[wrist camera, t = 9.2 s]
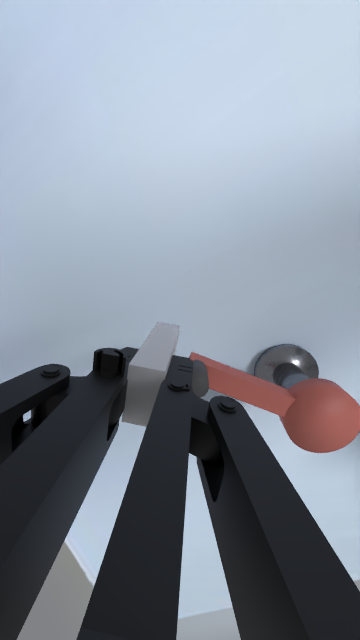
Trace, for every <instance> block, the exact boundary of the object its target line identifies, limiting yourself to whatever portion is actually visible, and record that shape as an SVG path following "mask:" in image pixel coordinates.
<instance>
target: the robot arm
mask: <svg viewBox="0 0 360 640" xmlns="http://www.w3.org/2000/svg"><path fill="white" fill-rule="evenodd" d="M179 328H180V326H176V325H171V324H166V323H160V322H157V324H156V325H155V327H154V328H153V330H152V331H151V333H150V334H149V336H148V337H147V339H146V340H145V341H144V343H143V344H142V346H141V347H140V349H135V348H130V347H126V348H124V349H121V350H119V349H115V348H102V349H98V350H96V351H94V361H93V370H92V371H91V372H90V373H89V374H88V375H87V376H83V377H76V376H70V369H69V368H68V367H66V366H63V365H59V364H50V365H44V366H41V367H38V368H35V369H33V370H31V371H29V372H26V373H24V374H22V375H20V376H17V377H15V378H13V379H11V380H8V381H6V382H4V383H2V384H0V640H16V639H17V637H18V635H19V633H20V631H21V629H22V627H23V625H24V623H25V620H26V619H27V616H28V614H29V612H30V610H31V608H32V606H33V604H34V602H35V600H36V598H37V596H38V594H39V592H40V590H41V588H42V586H43V584H44V581H45V579H46V577H47V575H48V573H49V571H50V569H51V567H52V565H53V563H54V561H55V559H56V556H57V555H58V552H59V550H60V548H61V546H62V544H63V542H64V540H65V538H66V536H67V534H68V532H69V530H70V528H71V526H72V523H73V521H74V519H75V517H76V515H77V513H78V511H79V509H80V507H81V505H82V503H83V501H84V499H85V497H86V495H87V492H88V490H89V488H90V486H91V484H92V482H93V480H94V478H95V476H96V474H97V472H98V470H99V468H100V466H101V463H102V461H103V459H104V457H105V455H106V453H107V451H108V449H109V447H110V445H111V443H112V441H113V439H114V437H115V434H116V432H117V430H118V426H119V419H120V417H121V415H122V413H123V416H122V422H127V423H132V424H136V425H141V426H146V430H145V434H144V437H143V440H142V443H141V446H140V449H139V452H138V455H137V458H136V461H135V464H134V467H133V470H132V473H131V476H130V479H129V482H128V485H127V488H126V491H125V494H124V497H123V500H122V504H121V507H120V510H119V513H118V516H117V519H116V522H115V525H114V528H113V531H112V534H111V537H110V540H109V543H108V546H107V549H106V552H105V555H104V558H103V561H102V564H101V567H100V570H99V574H98V577H97V580H96V583H95V586H94V589H93V592H92V595H91V598H90V601H89V604H88V607H87V610H86V613H85V616H84V619H83V622H82V625H81V628H80V631H79V634H78V637H77V640H176V634H177V620H178V605H179V590H180V575H181V560H182V546H183V531H184V516H185V501H186V487H187V472H188V457H189V453H190V454H192V455H194V456H196V457H197V465H198V469H199V473H200V477H201V481H202V485H203V489H204V493H205V497H206V501H207V505H208V509H209V513H210V517H211V521H212V525H213V529H214V533H215V537H216V541H217V545H218V549H219V553H220V557H221V561H222V565H223V569H224V573H225V577H226V581H227V585H228V589H229V593H230V597H231V601H232V605H233V609H234V613H235V617H236V621H237V626H238V630H239V633H240V637H241V640H360V591H359V590H358V588H357V586H356V585H355V583H354V582H353V580H352V579H351V577H350V575H349V574H348V572H347V571H346V569H345V567H344V566H343V564H342V563H341V561H340V560H339V558H338V556H337V555H336V553H335V552H334V550H333V548H332V547H331V545H330V544H329V542H328V540H327V539H326V537H325V536H324V534H323V533H322V531H321V529H320V528H319V526H318V525H317V523H316V521H315V520H314V518H313V517H312V515H311V513H310V512H309V510H308V509H307V507H306V506H305V504H304V502H303V501H302V499H301V498H300V496H299V494H298V493H297V491H296V490H295V488H294V487H293V485H292V483H291V482H290V480H289V479H288V477H287V475H286V474H285V472H284V471H283V469H282V467H281V466H280V464H279V463H278V461H277V460H276V458H275V456H274V455H273V453H272V452H271V450H270V448H269V447H268V445H267V444H266V442H265V441H264V439H263V437H262V436H261V434H260V433H259V431H258V429H257V428H256V426H255V425H254V423H253V421H252V420H251V418H250V417H249V415H248V414H247V412H246V410H245V409H244V407H243V406H242V405H241V404H240V403H239V402H237V401H236V400H234V399H232V398H230V397H224V396H216V397H214V398H212V399H211V400H210V402H207V401H205V400H203V399H201V398H199V397H198V396H196V395H195V394H194V392H193V388H192V377H193V362H192V360H191V359H190V358H185V357H180V356H175V351H176V345H177V339H178V334H179ZM30 410H31V418H30V419H29V420H27V421H25V422H23V414H25V413H27V412H28V411H30Z"/></svg>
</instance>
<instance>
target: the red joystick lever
mask: <svg viewBox="0 0 360 640" xmlns="http://www.w3.org/2000/svg"><path fill="white" fill-rule="evenodd" d="M189 358H190V359H191V360H192V362H193V377H192V388H193V392H194V394H195V395H196V396H198V397H199V398H200V397H202V396H204V395H205V394H206V393H207V392H208V389H209V388H210V389H213V390H215V391H218V392H220V393H223V394H225V395H228V396H231V397H233V398H236V399H238V400H241V401H244V402H246V403H249V404H251V405H254V406H256V407H259V408H262V409H264V410H267V411H269V412H272V413H275V414H277V415H279V417H280V420H281V422H282V424H283V426H284V428H285V430H286V432H287V434H288V436H289V437H290V439H291V440H292V441H293V442H294V443H295V444H296V445H297V446H298V447H300V448H302V449H304V450H306V451H310V452H315V453H327V452H332V451H336V450H338V449H341V448H343V447H344V446H346V445H348V444H349V443H350V442H351V441H352V440H353V439H354V438H355V437H356V436H357V435H358V433H359V431H360V406H359V404H358V403H357V402H356V401H355V399H353V398H352V397H351V396H350V395H349V394H348V393H347V392H346V391H344V390H343V389H342V388H341V387H340V386H339V385H337V384H336V383H334V382H332V381H329V380H326V379H319V378H314V379H307V380H303V381H301V382H298V383H296V384H295V385H293V386H292V387H290V388H289V389H286V388H283V387H281V386H278V385H276V384H273V383H270V382H268V381H265V380H263V379H260V378H258V377H255V376H252V375H250V374H247V373H245V372H242V371H240V370H237V369H235V368H232V367H229V366H227V365H224V364H222V363H219V362H217V361H214V360H212V359H209V358H206V357H204V356H201V355H199V354H196V353H194V352H192V353H191V355H190V357H189Z"/></svg>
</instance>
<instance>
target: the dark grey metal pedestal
mask: <svg viewBox="0 0 360 640" xmlns="http://www.w3.org/2000/svg"><path fill="white" fill-rule="evenodd" d="M318 374H319V371H318V365H317V363H316V361H315V359H314V358H313V356H312V355H311V354H310V353H308V352H307V351H306V350H305V349H303V348H301V347H299V346H296V345H292V344H282V345H277V346H274V347H272V348H270V349H268V350H267V351H265V352H264V353H263V354H262V355H261V356H260V358H259V359H258V361H257V363H256V365H255V369H254V376H255V377H258V378H260V379H263V380H265V381H268V382H270V383H273V384H276V385H278V386H281V387H283V388H286V389H289V388H290V387H292V386H293V385H295V384H296V383H298V382H301V381H303V380H307V379H314V378H318Z"/></svg>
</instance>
